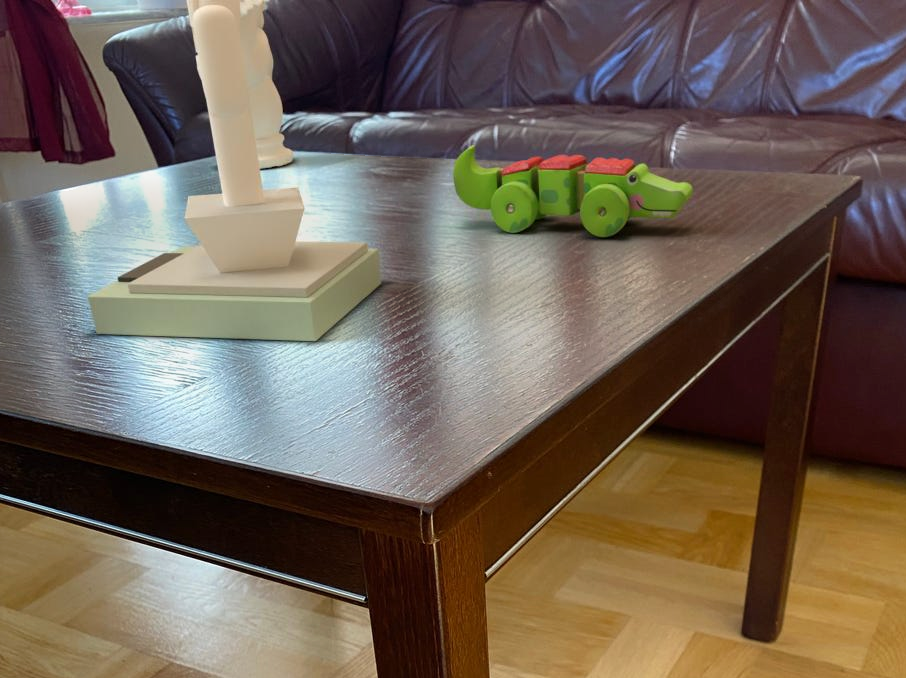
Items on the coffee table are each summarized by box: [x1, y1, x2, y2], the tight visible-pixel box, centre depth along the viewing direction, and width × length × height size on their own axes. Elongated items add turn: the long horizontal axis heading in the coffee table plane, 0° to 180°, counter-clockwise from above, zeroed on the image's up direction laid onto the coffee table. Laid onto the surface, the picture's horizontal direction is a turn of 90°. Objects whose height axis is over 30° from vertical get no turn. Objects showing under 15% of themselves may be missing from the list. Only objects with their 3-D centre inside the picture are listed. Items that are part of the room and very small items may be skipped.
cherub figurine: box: [196, 0, 294, 170], centre depth 111 cm, size 12×12×22 cm
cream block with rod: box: [183, 0, 306, 273], centre depth 63 cm, size 7×9×15 cm
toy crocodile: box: [452, 144, 694, 238], centre depth 83 cm, size 20×7×6 cm, turn 66°
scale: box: [87, 241, 382, 342], centre depth 68 cm, size 15×13×3 cm
